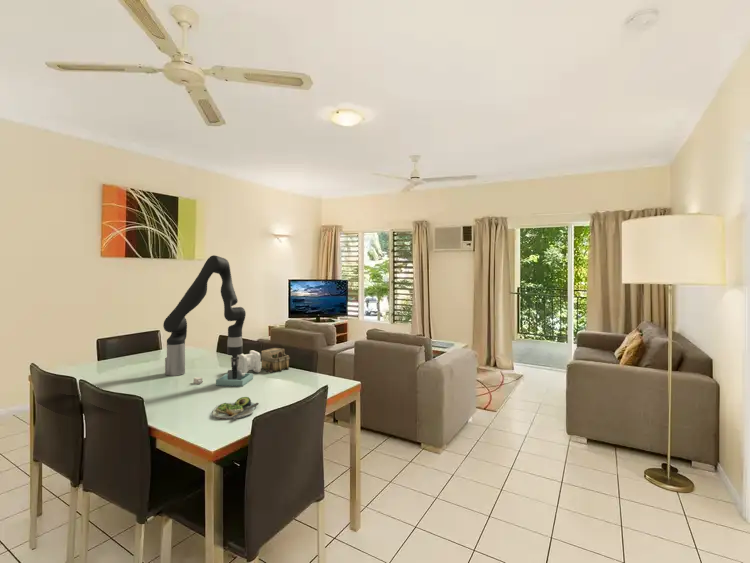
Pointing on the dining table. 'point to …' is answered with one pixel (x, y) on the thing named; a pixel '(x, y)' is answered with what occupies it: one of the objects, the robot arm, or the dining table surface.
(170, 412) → the dining table surface
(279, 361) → the miniature house
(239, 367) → the cable organizer
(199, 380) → the small plug
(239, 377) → the connector
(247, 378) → the tray
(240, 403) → the salad plate
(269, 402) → the dining table surface
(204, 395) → the dining table surface
